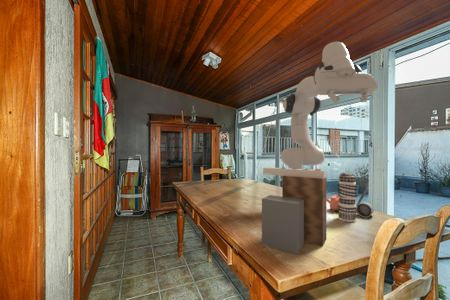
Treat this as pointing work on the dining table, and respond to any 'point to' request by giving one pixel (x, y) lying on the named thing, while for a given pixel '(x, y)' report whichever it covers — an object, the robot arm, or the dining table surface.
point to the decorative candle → (347, 197)
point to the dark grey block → (283, 223)
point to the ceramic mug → (364, 209)
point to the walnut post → (309, 205)
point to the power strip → (295, 172)
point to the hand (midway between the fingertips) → (350, 101)
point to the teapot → (333, 202)
